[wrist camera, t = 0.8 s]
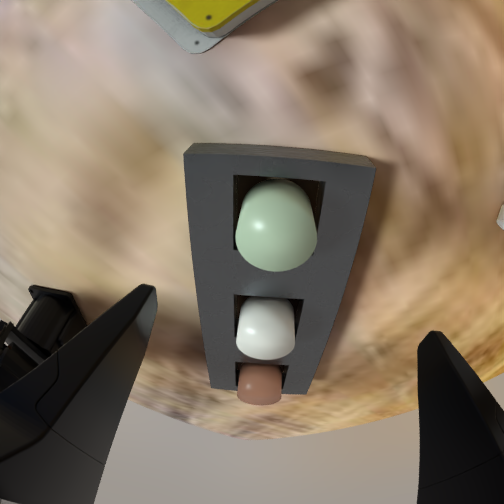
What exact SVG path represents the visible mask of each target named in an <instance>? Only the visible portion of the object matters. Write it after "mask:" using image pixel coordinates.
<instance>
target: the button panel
mask: <svg viewBox="0 0 504 504" xmlns="http://www.w3.org/2000/svg"><path fill="white" fill-rule="evenodd" d="M183 156H184V172H185V186H186V199H187V210H188V222H189V232H190V242H191V251H192V260H193V269H194V277H195V286H196V293H197V301H198V308H199V316H200V322H201V329H202V336H203V342H204V349H205V355H206V361H207V367H208V373H209V379H210V384H211V388H216V389H225V390H235V391H238V383H239V375H240V370H238V362H244V363H257V364H272V365H285V367H284V372H283V373H282V387H281V394H307V391H308V389H309V386H310V384H311V382H312V379H313V377H314V374H315V372H316V369H317V367H318V364H319V361H320V359H321V356H322V354H323V351H324V348H325V346H326V343H327V340H328V337H329V335H330V332H331V329H332V326H333V323H334V321H335V318H336V315H337V312H338V309H339V306H340V303H341V300H342V297H343V293H344V290H345V287H346V284H347V281H348V277H349V274H350V271H351V267H352V264H353V261H354V257H355V254H356V250H357V246H358V243H359V239H360V235H361V232H362V228H363V224H364V220H365V216H366V212H367V208H368V203H369V199H370V195H371V190H372V186H373V181H374V177H375V172H376V167H375V166H374V165H373V164H372V162H371V161H370V160H369V159H368V158H367V157H366V156H361V155H354V154H347V153H340V152H331V151H323V150H314V149H304V148H293V147H280V146H265V145H246V144H211V143H193V144H192V145H191V146H190V147H189V148H188V149H187V150H186V152H185V153H184V154H183ZM238 175H251V176H267V177H282V178H294V179H306V180H316V181H319V185H318V192H317V199H316V205H315V212H314V222H315V227H316V232H317V244H316V247H315V250H314V252H313V253H312V255H311V256H310V257H309V259H308V260H307V261H305V262H304V263H303V264H301V265H300V266H298V267H296V268H293V269H290V270H287V271H279V272H276V271H267V270H263V269H260V268H257V267H255V266H253V265H252V264H250V263H249V262H248V261H246V260H245V259H244V258H243V256H242V255H241V254H240V252H239V250H238V248H237V245H236V230H237V182H238ZM237 295H248V296H262V297H277V298H293V299H299V302H298V307H297V312H296V317H295V322H294V327H295V346H294V348H293V350H292V351H291V352H290V353H289V354H288V355H286V356H284V357H281V358H278V359H272V360H262V359H256V358H252V357H250V356H247V355H246V354H244V353H243V352H241V351H240V350H239V348H238V347H237V344H236V339H237V332H238V324H239V319H238V318H237Z"/></svg>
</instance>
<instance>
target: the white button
mask: <svg viewBox="0 0 504 504" xmlns="http://www.w3.org/2000/svg"><path fill="white" fill-rule="evenodd" d="M236 344H237V347H238V348H239V350H240V351H241V352H243V353H244V354H246V355H247V356H250V357H252V358H256V359H262V360H272V359H278V358H281V357H284V356H286V355H288V354H289V353H290V352H291V351H292V350H293V348H294V346H295V327H294V308H293V306H292V304H291V302H290V301H289V300H287V299H286V298H277V297H262V296H251V297H249V298H247V299H246V300H245V301H244V302H243V304H242V306H241V310H240V317H239V324H238V332H237V339H236Z"/></svg>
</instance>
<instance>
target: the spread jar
mask: <svg viewBox="0 0 504 504" xmlns="http://www.w3.org/2000/svg"><path fill="white" fill-rule="evenodd" d="M496 222H497V224H498V225H499V226H500V228H502V229H503V230H504V204H503V205H502V206H501V209H500V212H499V215H498V217H497V220H496Z"/></svg>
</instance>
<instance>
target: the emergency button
mask: <svg viewBox="0 0 504 504" xmlns="http://www.w3.org/2000/svg"><path fill="white" fill-rule="evenodd" d="M131 1H132V2H134V3H135V4H136V5H137V6H138V7H139V8H140V9H141V10H143V11H144V12H145V13H146V14H147V15H148V16H149V17H150V18H151V19H152V20H153V21H154V22H156V23H157V24H158V25H159V26H160V27H161V28H162V29H163V30H164V31H165V32H166V33H167V34H168V35H169V36H170V37H171V38H172V39H173V40H174V41H175V42H176V43H177V44H178V45H179V46H180V47H181V48H182V49H183V50H185V51H187V52H189V53H191V54H194V53H203V52H204V51H206V50H208V49H210V48H212V47H213V46H214V45H215V44H217V43H218V42H219V41H220V40H222V39H223V38H224V37H226V36H227V35H228V34H230V33H231V32H232V31H234V30H235V29H236V28H238V27H239V26H241V25H242V24H243V23H245V22H246V21H248V20H249V19H251V18H252V17H253V16H255V15H256V14H258V13H259V12H261V11H262V10H264V9H266V8H267V7H269V6H270V5H272V4H273V3H275V2H277V1H278V0H131Z"/></svg>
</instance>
